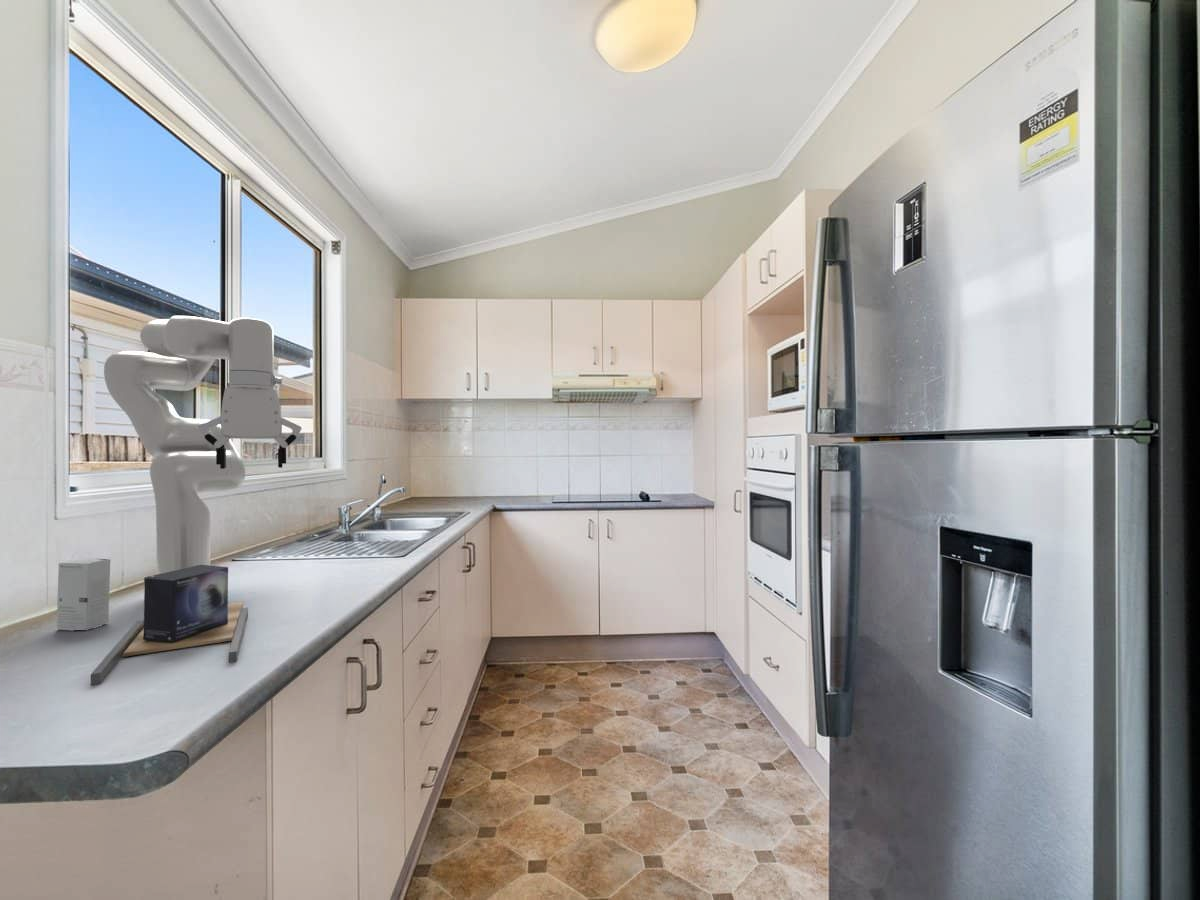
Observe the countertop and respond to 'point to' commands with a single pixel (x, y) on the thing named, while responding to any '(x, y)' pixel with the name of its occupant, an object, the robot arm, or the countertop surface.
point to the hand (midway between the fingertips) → (252, 467)
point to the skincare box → (83, 593)
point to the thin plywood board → (203, 638)
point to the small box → (185, 602)
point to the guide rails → (129, 637)
